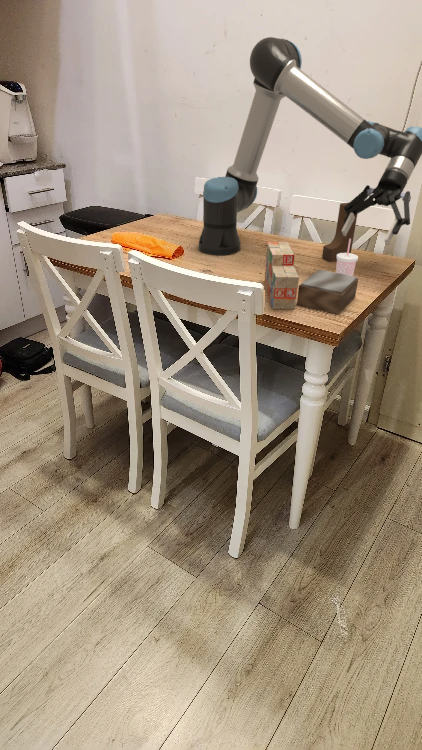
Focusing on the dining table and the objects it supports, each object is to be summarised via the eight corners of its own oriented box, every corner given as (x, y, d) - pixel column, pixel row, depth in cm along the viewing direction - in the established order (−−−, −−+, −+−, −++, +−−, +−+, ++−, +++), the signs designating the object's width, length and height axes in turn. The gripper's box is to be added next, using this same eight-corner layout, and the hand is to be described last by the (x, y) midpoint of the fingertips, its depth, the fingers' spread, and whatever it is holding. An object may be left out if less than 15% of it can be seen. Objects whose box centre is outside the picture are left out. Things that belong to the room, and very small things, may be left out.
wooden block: (329, 262, 163) (337, 207, 154) (321, 258, 167) (328, 204, 157) (350, 258, 167) (359, 204, 157) (341, 254, 170) (350, 201, 161)
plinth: (296, 304, 133) (299, 283, 130) (315, 288, 143) (317, 268, 140) (339, 314, 128) (342, 293, 125) (355, 296, 138) (358, 276, 135)
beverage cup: (328, 285, 145) (335, 238, 138) (338, 279, 149) (346, 234, 142) (346, 290, 142) (354, 243, 135) (356, 285, 146) (365, 238, 138)
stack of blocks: (295, 310, 130) (300, 265, 124) (272, 309, 130) (275, 265, 124) (284, 281, 148) (288, 241, 142) (264, 280, 148) (266, 241, 142)
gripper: (438, 190, 141) (407, 253, 139) (359, 179, 155) (329, 236, 153) (437, 173, 135) (403, 239, 133) (354, 163, 148) (323, 223, 147)
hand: (364, 238), depth 143 cm, fingers open, 13 cm apart
